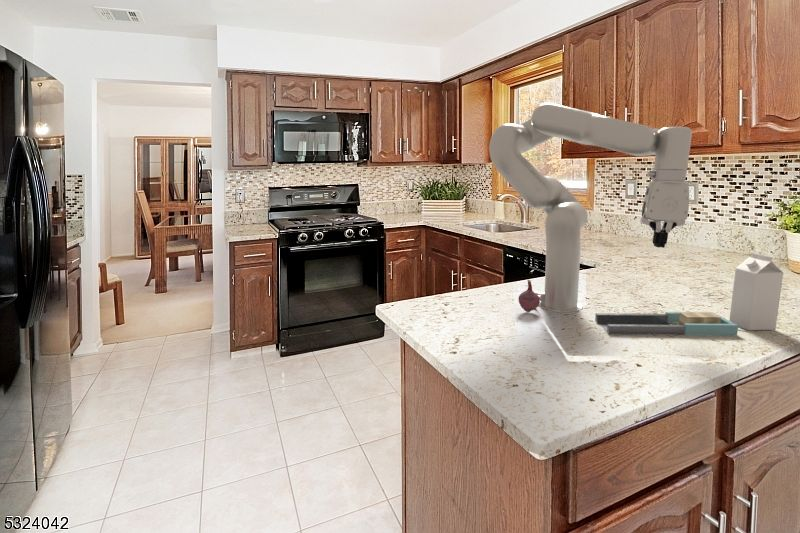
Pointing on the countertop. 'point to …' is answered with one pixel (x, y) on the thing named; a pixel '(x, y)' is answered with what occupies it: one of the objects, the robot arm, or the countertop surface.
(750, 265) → the milk carton
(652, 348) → the countertop surface
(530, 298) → the vegetable
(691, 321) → the chip
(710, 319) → the chip
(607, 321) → the rail
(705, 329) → the tray
